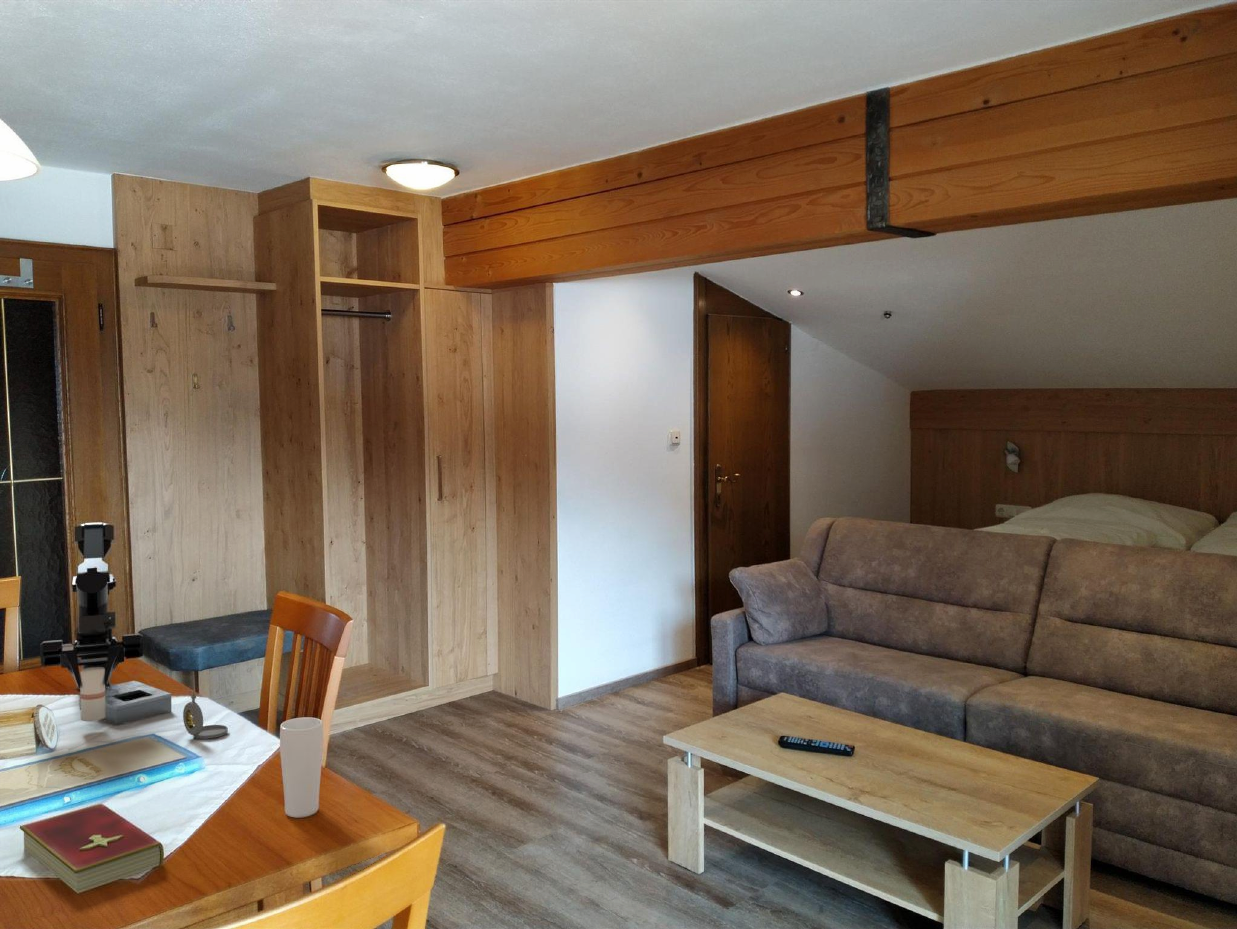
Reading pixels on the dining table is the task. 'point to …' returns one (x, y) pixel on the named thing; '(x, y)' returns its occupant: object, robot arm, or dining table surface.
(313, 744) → the drinking glass
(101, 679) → the coin roll
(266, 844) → the dining table surface
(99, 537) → the robot arm
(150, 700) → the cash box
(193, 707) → the pocket watch
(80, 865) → the hardcover book
